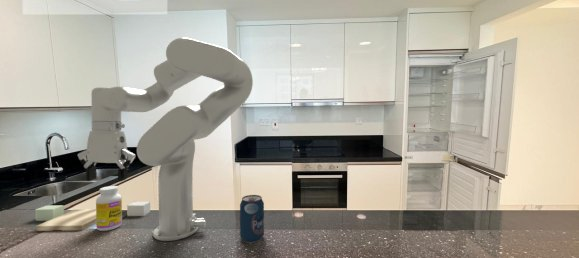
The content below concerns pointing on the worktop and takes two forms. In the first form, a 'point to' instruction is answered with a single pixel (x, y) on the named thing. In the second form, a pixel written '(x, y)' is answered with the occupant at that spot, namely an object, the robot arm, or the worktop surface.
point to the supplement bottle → (108, 209)
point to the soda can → (251, 218)
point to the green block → (49, 212)
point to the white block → (138, 209)
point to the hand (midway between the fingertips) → (106, 180)
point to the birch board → (70, 221)
